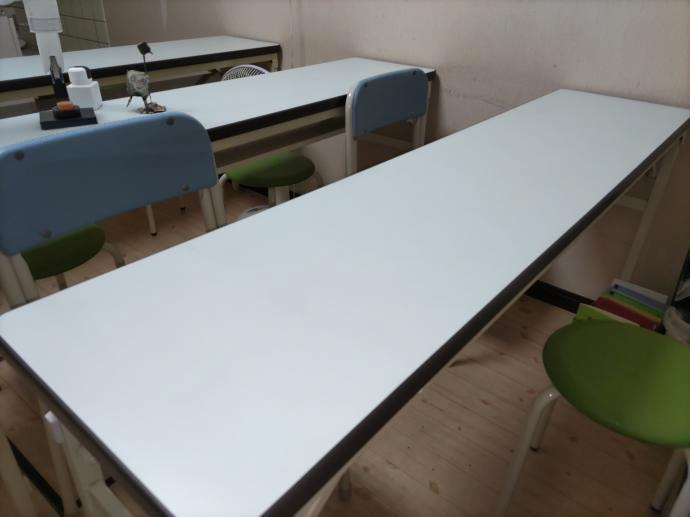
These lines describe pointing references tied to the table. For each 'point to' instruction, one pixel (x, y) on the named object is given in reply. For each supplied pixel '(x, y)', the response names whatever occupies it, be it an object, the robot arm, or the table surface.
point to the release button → (65, 105)
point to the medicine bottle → (83, 88)
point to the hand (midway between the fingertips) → (61, 97)
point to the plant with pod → (141, 84)
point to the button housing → (67, 117)
